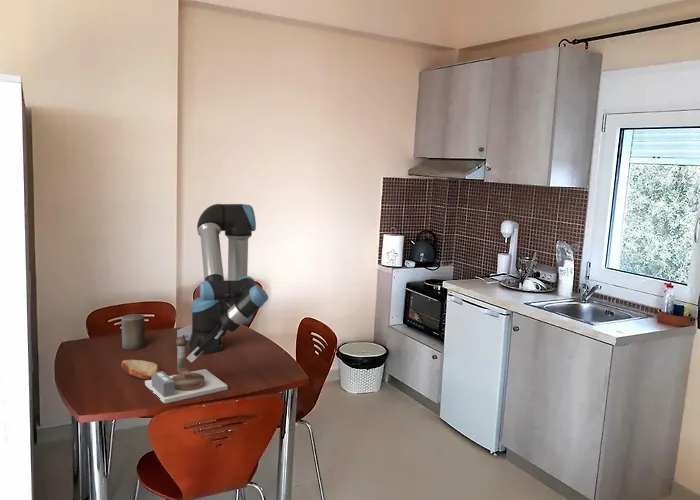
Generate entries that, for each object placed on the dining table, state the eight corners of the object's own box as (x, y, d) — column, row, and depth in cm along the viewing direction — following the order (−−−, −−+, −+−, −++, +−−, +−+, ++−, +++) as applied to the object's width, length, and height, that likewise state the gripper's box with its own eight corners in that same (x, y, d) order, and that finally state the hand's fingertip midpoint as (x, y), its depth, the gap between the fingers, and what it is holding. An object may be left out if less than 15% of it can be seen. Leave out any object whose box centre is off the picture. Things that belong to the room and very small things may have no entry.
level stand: (145, 384, 225) (144, 367, 224) (205, 372, 239) (205, 356, 238) (164, 403, 209) (164, 385, 208) (227, 389, 224) (227, 372, 222)
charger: (210, 332, 291) (194, 341, 277) (194, 330, 294) (177, 339, 279) (211, 323, 290) (194, 331, 276) (194, 321, 293) (177, 329, 279)
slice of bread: (123, 363, 247) (123, 354, 246) (167, 364, 247) (167, 355, 247) (107, 379, 229) (107, 370, 228) (155, 381, 230) (155, 371, 229)
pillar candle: (149, 346, 267) (149, 313, 265) (131, 351, 259) (130, 318, 257) (135, 341, 273) (134, 309, 270) (117, 347, 264) (116, 314, 262)
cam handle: (208, 387, 221) (208, 346, 218) (175, 392, 215) (175, 350, 212) (195, 371, 235) (195, 333, 233) (164, 376, 229) (163, 337, 226)
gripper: (239, 330, 223) (193, 372, 224) (242, 320, 236) (198, 360, 237) (224, 316, 222) (178, 359, 223) (228, 307, 234) (185, 347, 236)
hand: (189, 359), depth 230 cm, fingers closed
